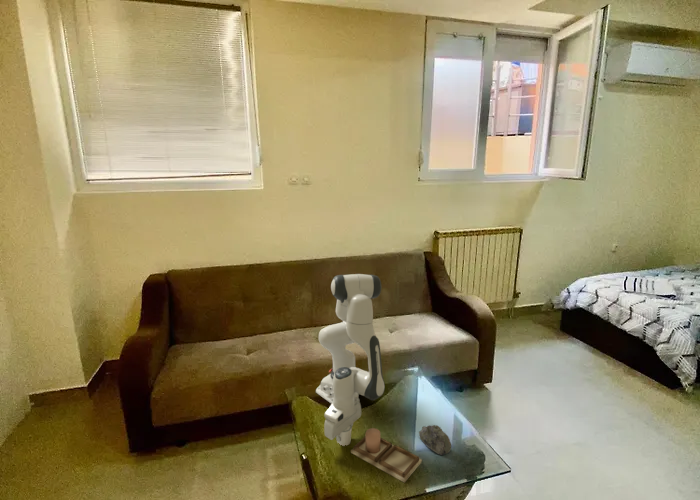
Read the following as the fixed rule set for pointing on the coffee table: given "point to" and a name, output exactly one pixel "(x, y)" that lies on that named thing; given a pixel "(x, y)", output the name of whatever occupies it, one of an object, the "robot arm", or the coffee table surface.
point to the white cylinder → (345, 436)
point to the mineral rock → (435, 439)
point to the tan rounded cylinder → (373, 440)
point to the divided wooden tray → (389, 459)
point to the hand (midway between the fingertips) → (344, 436)
